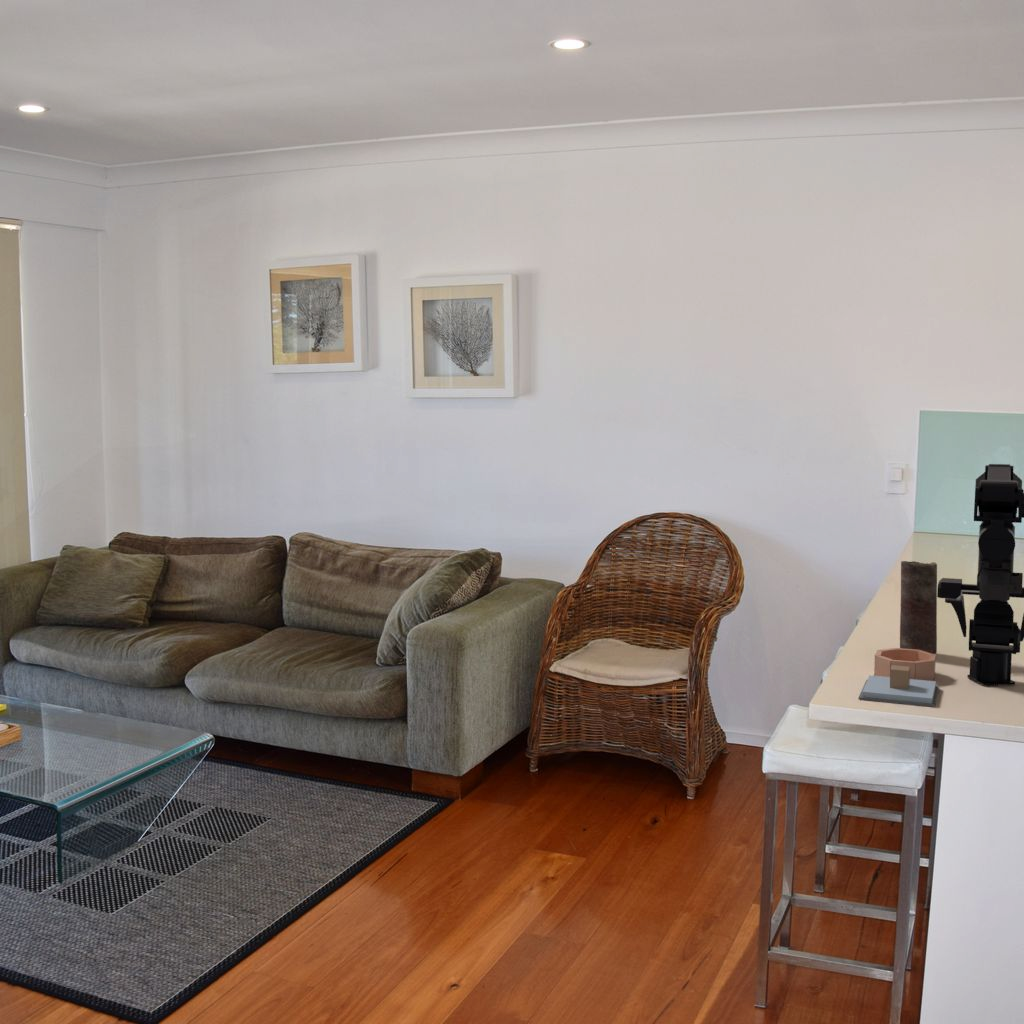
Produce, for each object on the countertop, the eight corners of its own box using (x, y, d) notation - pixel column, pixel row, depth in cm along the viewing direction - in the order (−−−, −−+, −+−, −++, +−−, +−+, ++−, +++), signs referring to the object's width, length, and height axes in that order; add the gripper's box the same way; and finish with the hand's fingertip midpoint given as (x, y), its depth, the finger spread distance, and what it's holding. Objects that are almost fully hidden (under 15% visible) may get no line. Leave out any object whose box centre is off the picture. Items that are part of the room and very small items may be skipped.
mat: (866, 681, 215) (866, 679, 215) (938, 688, 210) (938, 686, 210) (858, 699, 203) (858, 697, 203) (934, 707, 198) (934, 704, 198)
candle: (891, 652, 237) (893, 559, 235) (919, 648, 240) (921, 557, 237) (915, 660, 230) (918, 565, 228) (944, 656, 233) (947, 562, 230)
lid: (869, 680, 214) (869, 657, 214) (935, 686, 209) (936, 663, 209) (862, 696, 203) (862, 672, 203) (932, 703, 198) (932, 679, 198)
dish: (878, 665, 226) (878, 646, 226) (936, 670, 222) (936, 651, 221) (872, 679, 216) (873, 659, 216) (932, 684, 212) (933, 664, 211)
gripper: (937, 556, 192) (934, 644, 194) (1057, 562, 185) (1052, 653, 187) (940, 546, 202) (937, 631, 204) (1054, 552, 195) (1050, 639, 197)
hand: (992, 638), depth 198 cm, fingers open, 9 cm apart
